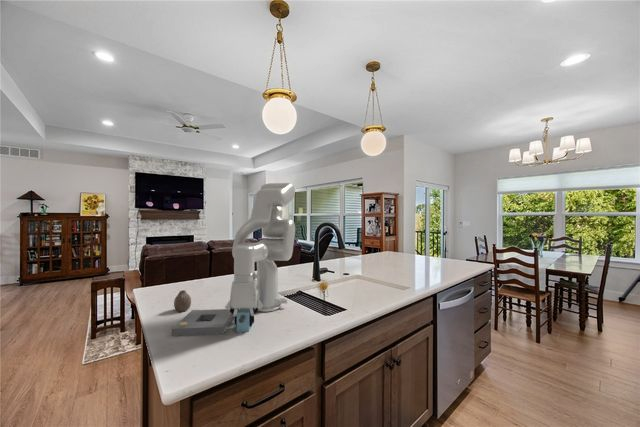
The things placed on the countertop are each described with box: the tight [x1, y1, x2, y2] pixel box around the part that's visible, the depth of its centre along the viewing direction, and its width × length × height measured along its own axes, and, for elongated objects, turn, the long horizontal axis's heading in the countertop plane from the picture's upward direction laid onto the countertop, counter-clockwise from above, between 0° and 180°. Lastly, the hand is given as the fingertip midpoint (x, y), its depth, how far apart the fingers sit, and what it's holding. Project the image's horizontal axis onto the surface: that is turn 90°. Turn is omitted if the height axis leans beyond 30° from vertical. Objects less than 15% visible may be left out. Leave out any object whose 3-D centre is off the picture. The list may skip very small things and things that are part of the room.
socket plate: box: [171, 308, 234, 336], centre depth 104 cm, size 18×18×3 cm
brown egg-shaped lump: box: [173, 289, 192, 313], centre depth 118 cm, size 7×7×9 cm
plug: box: [236, 308, 252, 333], centre depth 99 cm, size 4×8×7 cm, turn 4°
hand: (244, 324), depth 100 cm, fingers closed on plug, 4 cm apart
